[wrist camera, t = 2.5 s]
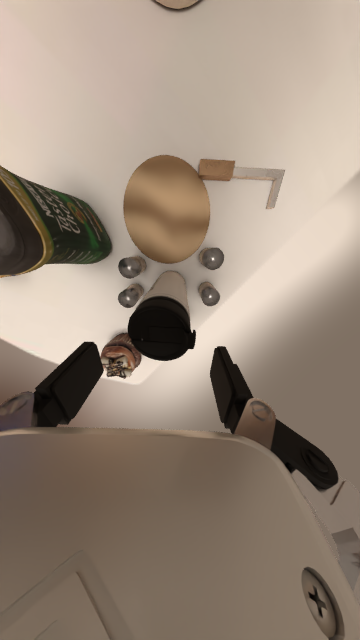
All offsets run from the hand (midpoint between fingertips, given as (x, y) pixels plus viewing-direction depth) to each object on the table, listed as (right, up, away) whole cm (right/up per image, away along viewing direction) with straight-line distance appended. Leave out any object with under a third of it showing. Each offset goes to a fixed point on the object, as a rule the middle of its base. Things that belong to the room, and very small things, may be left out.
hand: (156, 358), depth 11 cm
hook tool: (+11, +25, +11) cm, 29 cm away
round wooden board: (0, +21, +13) cm, 25 cm away
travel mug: (0, +11, +19) cm, 22 cm away
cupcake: (-13, -4, +27) cm, 30 cm away
